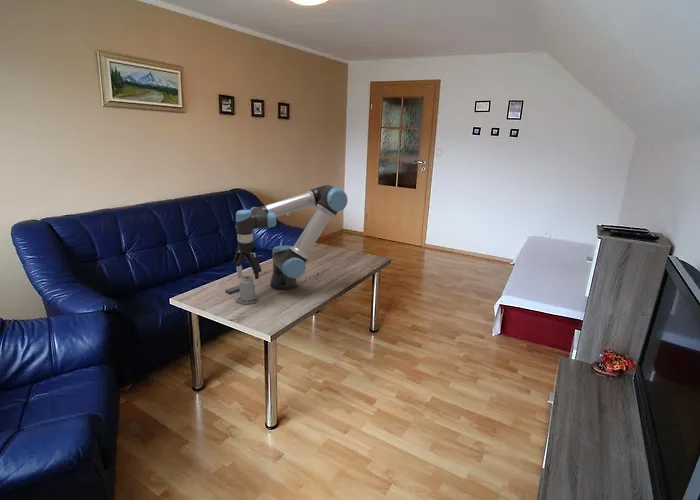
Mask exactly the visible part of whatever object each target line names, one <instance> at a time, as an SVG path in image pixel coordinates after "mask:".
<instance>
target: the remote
mask: <svg viewBox="0 0 700 500" xmlns="http://www.w3.org/2000/svg"><path fill="white" fill-rule="evenodd" d="M224 292H225V294H228V295H229V296H230V295H232V294H235V293H240V284H239V285H237V286H233V287H230V288H227V289H225V290H224Z"/></svg>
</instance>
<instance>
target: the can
mask: <svg viewBox="0 0 700 500" xmlns="http://www.w3.org/2000/svg"><path fill="white" fill-rule="evenodd" d="M238 282H239V285H240V291H239V297H240V299H241V300H242V301H252V300H253V299H254V298H255V296H256V291H255V290H256V287H255V286H256V285H254V283H253V275H252V276H251V275H243V277H241V278H239V281H238Z"/></svg>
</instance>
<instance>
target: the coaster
mask: <svg viewBox="0 0 700 500" xmlns="http://www.w3.org/2000/svg"><path fill="white" fill-rule="evenodd" d="M258 302H259V296H256V295H255V298H254V299H253V300H252V301H242V300H241V299H240V296H238V297H237V298H236V303H237V304H240V305H243V306H244V305H245V306H246V305H253V304H256V303H258Z"/></svg>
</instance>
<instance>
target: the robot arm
mask: <svg viewBox="0 0 700 500" xmlns="http://www.w3.org/2000/svg"><path fill="white" fill-rule="evenodd" d="M347 204H348V195H347V193H346V192H345V191H344V190H343V189H341V188H339V187H336V186H333V185H329V184H325V185H321V186H318V187H315V188H311V189H308V190H307V192H305V193H301V194H298V195H295V196H291V197H289V198H285V199H282V200H279V201H275V202H272V203H269V204H266V205H262V206H253V207H251V208H250V209H240V210H237V211H236V213H235V224H236V225H235V226H236V227H235V228H236V235H237V237H236V238H237V248H235V253H234V254H235V255H234V258H233V263H232V264H233V265H235V268H236V275H237V279H239V280H240V279H241V277H243V276H244V274H243V265H242V263H243V262H244V260H246V261H247V263H248V264H249V265H250V268H251V269H252V277H253V283H254V285H255V286H256V285H259V284H260V281H259V280H260V274H259V273H261V272H262V267H261V264H260V261H259V259H258V256H257V255H258V254H257V252H253V249H254V231H253V230H257V229H259V230H260V229H270V228H274V227H276V225H277V217H280V216H284V215H286V214H290V213H292V212H295V211H300V210H302V209H306V208H309V207H317V209H316V211H315V212H314V214H313V216H312V217H311V218H310V220H309V222H308V224H307V225H306V227H305V228H304V230H303V231H302V233H301V234H300V235H299V237H298V239H297V241H296V242H295V244H294V245H292V246H291V245H278V246H274V247H273V248H272V253H271V254H272V274H271V278H270V281H269V286H270V287H271V288H272V289H275V290H279V291H282V290H283V291H285V290H291V289H294V288H295V287H297V285H298V281H297V279H298V278H299V277H301V276H303V274H304V273H305V271H306V263H307V262H308V260H309V256H308V255H309V253H310V252H311V250H312V248H313V247H314V245H315V243H316V242H317V240H318V239H319V238H320V235H321V234H322V233H323V231H324V230H325V228H326V226H327V225H328V223H329V222H330V221H331V219H332V218H333V217H336V215H337V214H338V213H339V212H341V211H343V210H345V208H346V207H347Z"/></svg>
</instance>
